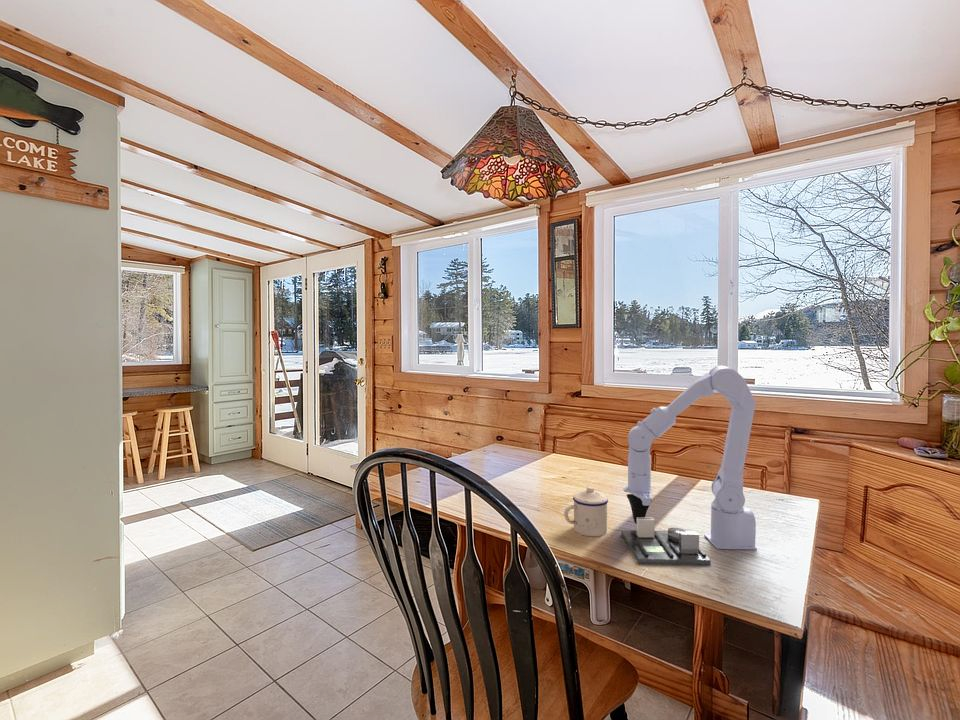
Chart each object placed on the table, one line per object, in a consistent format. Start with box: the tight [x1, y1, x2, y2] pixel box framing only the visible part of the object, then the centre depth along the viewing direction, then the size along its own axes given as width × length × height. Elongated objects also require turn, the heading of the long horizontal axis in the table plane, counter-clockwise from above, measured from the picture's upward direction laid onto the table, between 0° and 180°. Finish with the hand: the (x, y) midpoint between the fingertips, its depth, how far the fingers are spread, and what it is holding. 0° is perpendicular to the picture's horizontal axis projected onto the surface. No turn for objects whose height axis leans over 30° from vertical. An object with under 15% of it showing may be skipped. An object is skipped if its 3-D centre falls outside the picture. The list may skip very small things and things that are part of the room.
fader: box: [636, 516, 656, 537], centre depth 119 cm, size 4×2×5 cm, turn 87°
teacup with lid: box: [563, 486, 609, 538], centre depth 126 cm, size 12×9×12 cm
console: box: [620, 527, 711, 566], centre depth 115 cm, size 16×16×6 cm
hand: (638, 522), depth 125 cm, fingers closed
